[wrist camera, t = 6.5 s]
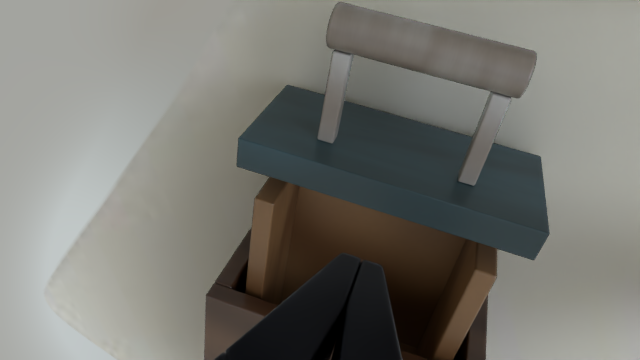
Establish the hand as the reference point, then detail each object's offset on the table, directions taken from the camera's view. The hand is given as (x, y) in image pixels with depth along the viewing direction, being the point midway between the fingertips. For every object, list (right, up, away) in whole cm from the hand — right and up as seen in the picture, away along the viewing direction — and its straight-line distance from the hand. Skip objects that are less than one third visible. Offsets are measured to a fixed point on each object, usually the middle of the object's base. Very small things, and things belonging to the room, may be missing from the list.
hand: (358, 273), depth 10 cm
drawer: (+2, +1, +12) cm, 13 cm away
